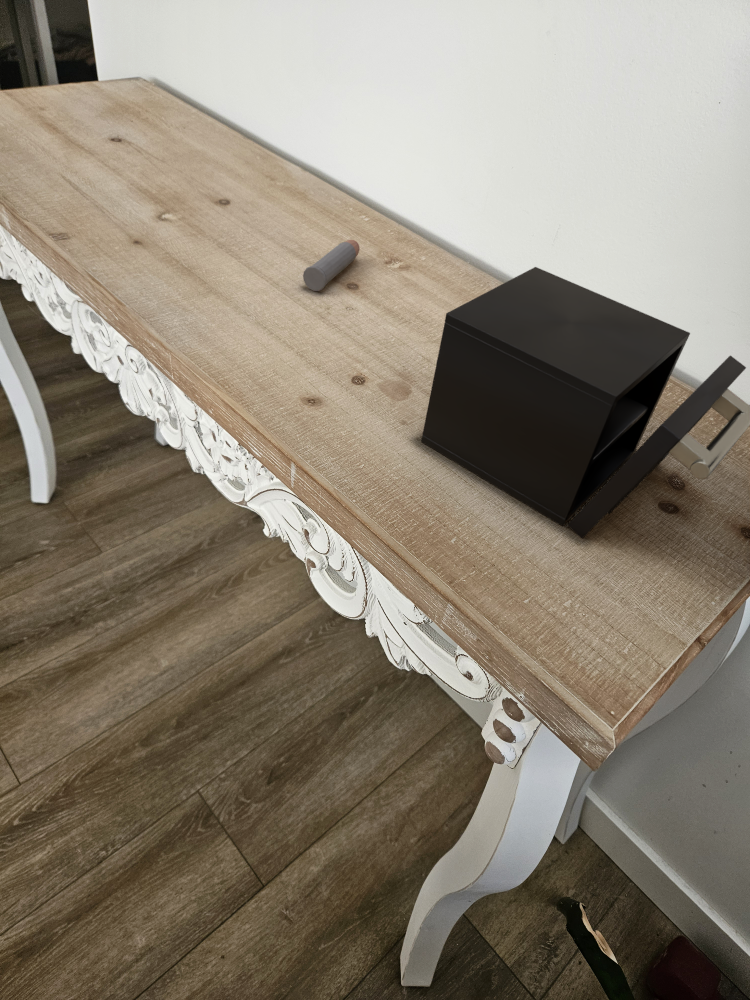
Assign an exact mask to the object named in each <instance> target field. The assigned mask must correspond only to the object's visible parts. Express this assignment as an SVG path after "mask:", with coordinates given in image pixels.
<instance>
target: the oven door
mask: <svg viewBox="0 0 750 1000" xmlns="http://www.w3.org/2000/svg"><path fill="white" fill-rule="evenodd" d="M746 369H747V367H746V365H744V364H743V363H741V362H740V361H739V360H737V359H736V358H735V357H733V356H732V355H729V356H728V357H726V359H725V360H723V362H722V363H721V364H720V365H719V366H718V367H717V368H716V369H715V370H713V372H712V373H711V374H710V375H709V376H708V377H707V378H705V380H704V381H703V382H702V383H701V384H700V385H699V386H698V387H697V388H696V389H695V390H694V391H693V392H692V393H691V394H690V395H689V396H688V397H687V398H686V399H685V400H684V401H683V402H682V403H681V404H680V405H679V406H678V407H677V408H676V409H675V410H674V411H673V412H672V413H671V414H670V415H669V416H668V417H667V418H666V419H665V420H664V421H663V422H662V423H661V424H660V425H659V426H658V427H657V428H656V430H654V432H653V433H652V434H651V435H650V436H649V437H648V438H647V439H646V440H645V442H643V443H642V444H641V446H640V447H639V448H637V449H636V451H635V453H634V454H633V455H632V456H631V458H630V459H629V460H628V461H627V462H626V463H625V464H624V465H623V466H622V467H621V468H620V469H619V470H618V471H617V472H616V473H615V474H614V475H613V476H612V477H611V478H610V479H609V480H608V481H607V482H606V483H605V484H604V485H603V486H602V487H601V488H600V489H599V490H598V491H597V492H596V493H595V494H594V495H593V496H592V497H591V498H590V499H589V500H588V501H587V503H586V504H585V505H584V506H583V507H582V508H581V509H580V511H579V512H577V513H576V515H574V516H573V517H572V519H571V521H570V522H568V523H567V527H569V529H570V530H572V531H573V532H574V533H575V534H576V535H577V536H578V537H580V539H584V537H586V536H587V534H589V532H590V531H591V530H592V529H594V528H595V526H596V525H597V524H598V523H599V522H601V520H603V518H604V517H605V516H606V515H607V514H608V515H610V514H611V513H612V512H613V511H614V510H615V509H616V508H617V507H618V506H619V505H620V504H621V503H622V502H623V501H624V500H625V499H626V498H627V497H628V496H629V495H630V494H631V493H632V492H633V491H635V489H636V488H637V487H638V486H639V485H640V484H641V483H642V482H643V481H644V480H645V479H646V478H647V477H648V476H649V475H650V474H651V473H652V472H653V471H654V470H655V469H656V468H657V467H658V466H659V465H660V464H661V463H662V462H663V461H664V460H665V459H666V458H667V457H668V456H669V455H671V456H672V457H673V458H675V459H676V460H677V461H678V462H679V463H681V464H682V465H683V466H684V467H685V468H687V469H688V470H689V472H690V474H691V476H692V477H693V478H695V479H698V480H705V479H708V478H709V477H710V476H711V475H712V473H713V472H714V471H715V469H716V468H717V467H718V466H719V465H720V463H721V462H722V461H723V460H724V458H726V456H727V454H729V452H730V451H731V450H732V448H733V447H734V446H735V444H736V443H738V440H739V439H741V437H742V436H743V434H745V432H746V431H747V430H748V428H749V427H750V404H748V403H747V402H746V401H744V400H743V399H742V398H741V397H739V395H737V394H735V393H734V392H733V391H732V390H730V389H729V387H731V385H732V384H733V383H734V382H735V381H736V380H737V379H738V377H739V376H740V375H742V373H743V372H744V371H745V370H746ZM711 409H712V410H714V411H715V412H716V413H718V414H719V415H720V416H722V418H724V419H725V420H727V422H726V424H724V425H723V427H722V428H721V429H720V431H719V432H718V433H717V434H716V436H714V437H713V439H712V440H711V441H710V442H709V444H707V446H704V445H703V444H702V443H700V441H698V440H697V439H696V438H694V437H693V436H692V435H691V434H689V433H690V432H691V430H693V429H694V427H695V426H697V424H698V423H699V422H700V421H701V420H702V419H703V417H704V416H705V415H707V414H708V412H709V411H710V410H711Z"/></svg>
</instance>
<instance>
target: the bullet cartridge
mask: <svg viewBox="0 0 750 1000" xmlns="http://www.w3.org/2000/svg"><path fill="white" fill-rule="evenodd" d="M359 253H360V244H359V243H358V241H356V240H355V239H347V240H345V241H342V242H340V243H338V244H337V245H336V246H334V247H333V248H332V249H331V250H330V251H328V252H327V253H326V254H325V255H323V256H322V257H321V258H320V259H318V260H317V261H315V262H314V263H313V264H312V265H309V266H308V267H306V268H305V269H304V270H303V273H302V279H303V282H304V284H305V286H306V287H307V288H308V289H309V290H311V291H313V292H319V291H322V290H323V289H324V288H325V287H326V285H328V284H329V282H331V281H332V280H333V279H334V278H335V277H336V276H338V275H339V274H340V273H341V272H342V271H344V270H345V269H346V268H347V267H348V266H349V265H350V264H351V263H353V262H354V261H355V260H356V258H357V257H358V255H359Z"/></svg>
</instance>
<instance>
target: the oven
mask: <svg viewBox="0 0 750 1000" xmlns="http://www.w3.org/2000/svg"><path fill="white" fill-rule="evenodd" d="M690 335H691V332H689V331H687V330H684V329H682V328H680V327H677V326H675V325H673V324H670V323H668V322H665V321H663V320H661V319H658V318H656V317H654V316H652V315H649V314H647V313H644V312H643V311H640V310H638V309H635V308H633V307H631V306H628V305H627V304H624V303H622V302H619V301H617V300H614V299H612V298H610V297H607V296H605V295H602V294H600V293H598V292H595V291H593V290H591V289H589V288H587V287H584V286H582V285H580V284H577V283H575V282H573V281H570V280H568V279H565V278H563V277H561V276H558V275H556V274H553V273H551V272H548V271H547V270H544V269H542V268H539V267H538V266H534V267H532V268H530V269H529V270H526V271H525V272H523V273H521V274H519V275H517V276H515V277H514V278H512V279H509V280H508V281H505V282H504V283H501V284H499V285H497V286H496V287H494V288H491V289H490V290H488V291H486V292H484V293H482V294H480V295H479V296H476V297H475V298H473V299H471V300H469V301H467V302H464V304H462V305H459V306H457V307H456V308H454V309H451V310H450V311H447V312H446V313H445V317H444V323H443V329H442V334H441V339H440V343H439V348H438V354H437V359H436V364H435V369H434V375H433V379H432V386H431V388H430V393H429V400H428V403H427V409H426V415H425V420H424V425H423V429H422V436H421V440H420V443H422V444H424V445H425V446H427V447H429V448H430V449H433V450H434V451H436V452H438V453H439V454H441V455H442V456H444V457H446V458H447V459H449V460H451V461H453V463H455V464H458V465H459V466H461V467H463V468H464V469H465V470H468V471H469V472H472V474H474V475H476V476H478V477H479V478H481V479H482V480H483V481H485V482H487V483H489V484H491V485H492V486H494V487H496V488H498V489H499V490H501V491H503V492H504V493H506V494H508V495H509V496H511V497H512V498H514V499H517V500H518V501H520V502H521V503H523V504H524V505H526V506H528V507H530V508H531V509H532V510H535V511H536V512H538V513H540V514H541V515H543V516H544V517H546V518H548V519H550V520H551V521H553V522H555V523H557V524H558V525H559V526H561V527H564V526H565V525H566V524H568V523H569V521H570V520H572V518H573V517H574V516H575V514H577V513H578V511H579V510H581V509H582V508H583V507H584V506H585V505H586V504H587V503H588V502H589V501H590V500H591V499H592V498H593V497H594V496H595V495H596V494H597V493H598V492H599V491H600V490H601V489H602V487H603V486H604V485H605V484H606V483H607V482H608V481H609V480H610V479H611V478H612V477H613V476H614V475H615V474H616V473H617V471H618V470H619V469H620V468H621V467H622V466H623V465H624V464H625V463H626V462H627V461H628V460H629V459H630V458H631V456H632V455H633V454H634V453H635V452H636V451H637V449H638V447H639V445H640V442H641V440H642V438H643V436H644V434H645V432H646V429H647V427H648V425H649V423H650V422H651V419H652V417H653V415H654V412H655V410H656V408H657V406H658V403H659V401H660V399H661V397H662V395H663V394H664V390H665V389H666V387H667V384H668V383H669V380H670V378H671V377H672V374H673V372H674V369H675V367H676V365H677V363H678V361H679V358H680V357H681V354H682V353H683V350H684V348H685V345H686V343H687V341H688V340H689V337H690Z"/></svg>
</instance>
